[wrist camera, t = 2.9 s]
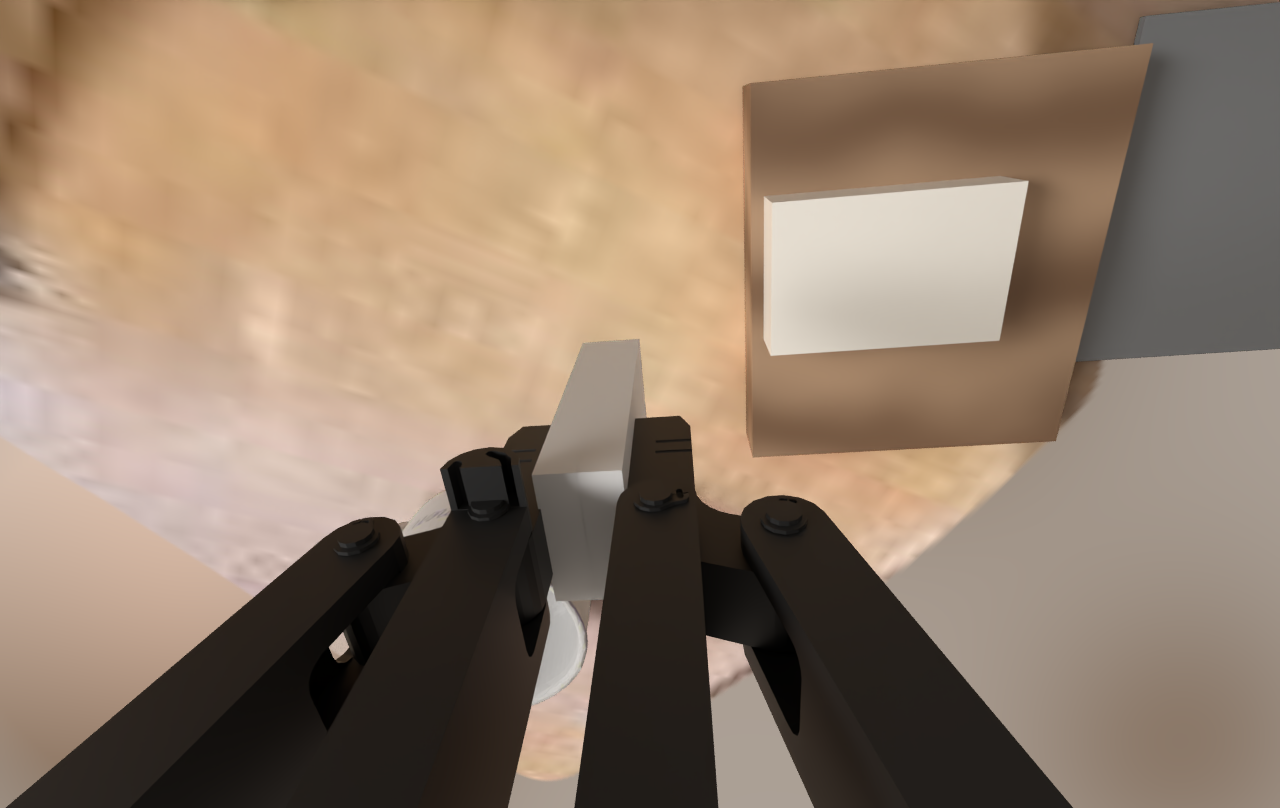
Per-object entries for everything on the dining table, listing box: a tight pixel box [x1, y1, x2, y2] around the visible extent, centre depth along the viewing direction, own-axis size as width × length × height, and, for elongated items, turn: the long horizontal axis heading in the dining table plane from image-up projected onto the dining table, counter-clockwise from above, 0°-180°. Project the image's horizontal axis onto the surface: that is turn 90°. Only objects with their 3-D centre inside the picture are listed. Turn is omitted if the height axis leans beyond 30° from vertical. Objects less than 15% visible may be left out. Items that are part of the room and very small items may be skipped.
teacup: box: [314, 490, 591, 706], centre depth 31 cm, size 14×11×8 cm
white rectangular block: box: [764, 176, 1029, 356], centre depth 24 cm, size 6×9×2 cm, turn 95°
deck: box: [743, 43, 1153, 457], centre depth 26 cm, size 16×14×2 cm
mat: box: [1075, 2, 1280, 362], centre depth 25 cm, size 14×12×1 cm
